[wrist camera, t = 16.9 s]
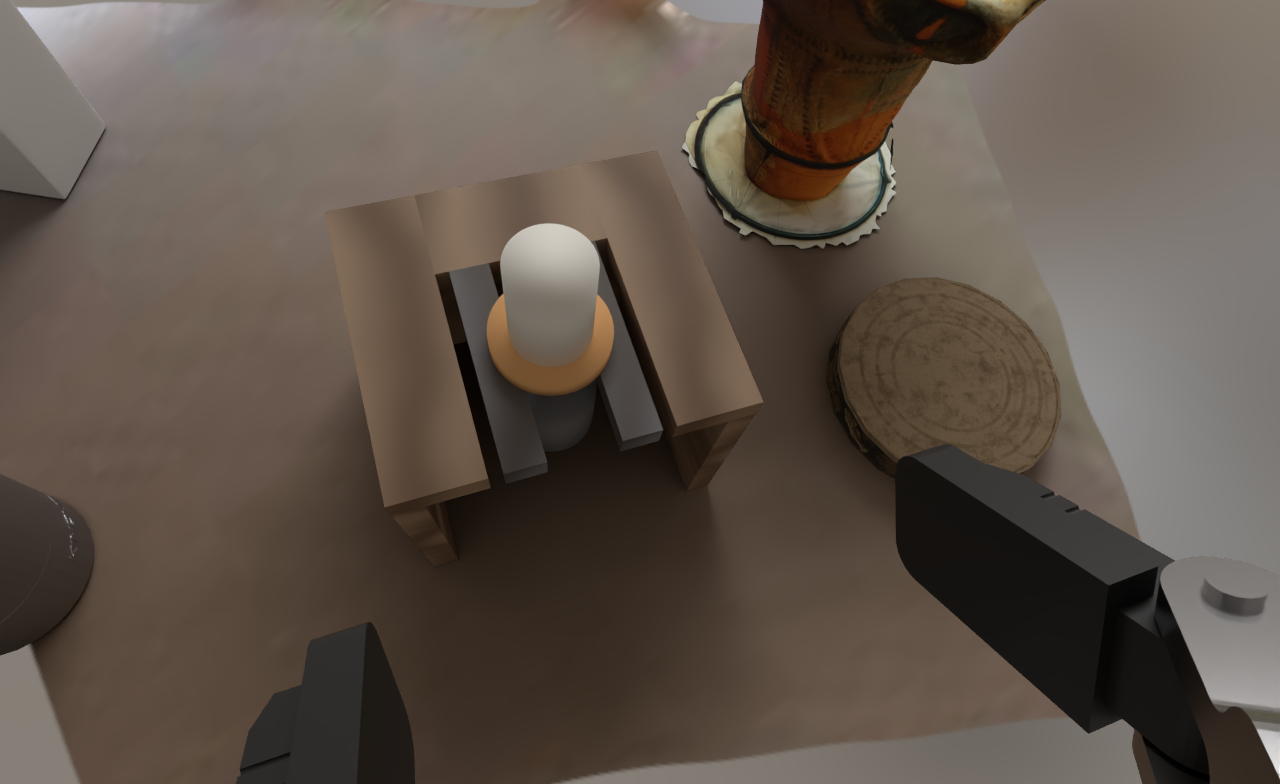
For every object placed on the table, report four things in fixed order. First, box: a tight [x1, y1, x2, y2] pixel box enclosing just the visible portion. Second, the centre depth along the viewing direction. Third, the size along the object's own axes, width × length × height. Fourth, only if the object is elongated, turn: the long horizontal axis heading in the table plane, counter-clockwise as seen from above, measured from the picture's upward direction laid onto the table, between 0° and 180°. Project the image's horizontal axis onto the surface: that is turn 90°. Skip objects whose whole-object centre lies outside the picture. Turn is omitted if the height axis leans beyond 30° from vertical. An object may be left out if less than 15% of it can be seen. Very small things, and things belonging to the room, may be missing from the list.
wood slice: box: [826, 278, 1061, 478], centre depth 51 cm, size 16×16×3 cm
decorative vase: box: [682, 0, 1045, 249], centre depth 47 cm, size 21×23×28 cm
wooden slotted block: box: [325, 151, 763, 567], centre depth 42 cm, size 18×16×14 cm
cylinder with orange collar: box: [487, 223, 614, 452], centre depth 36 cm, size 6×6×16 cm
